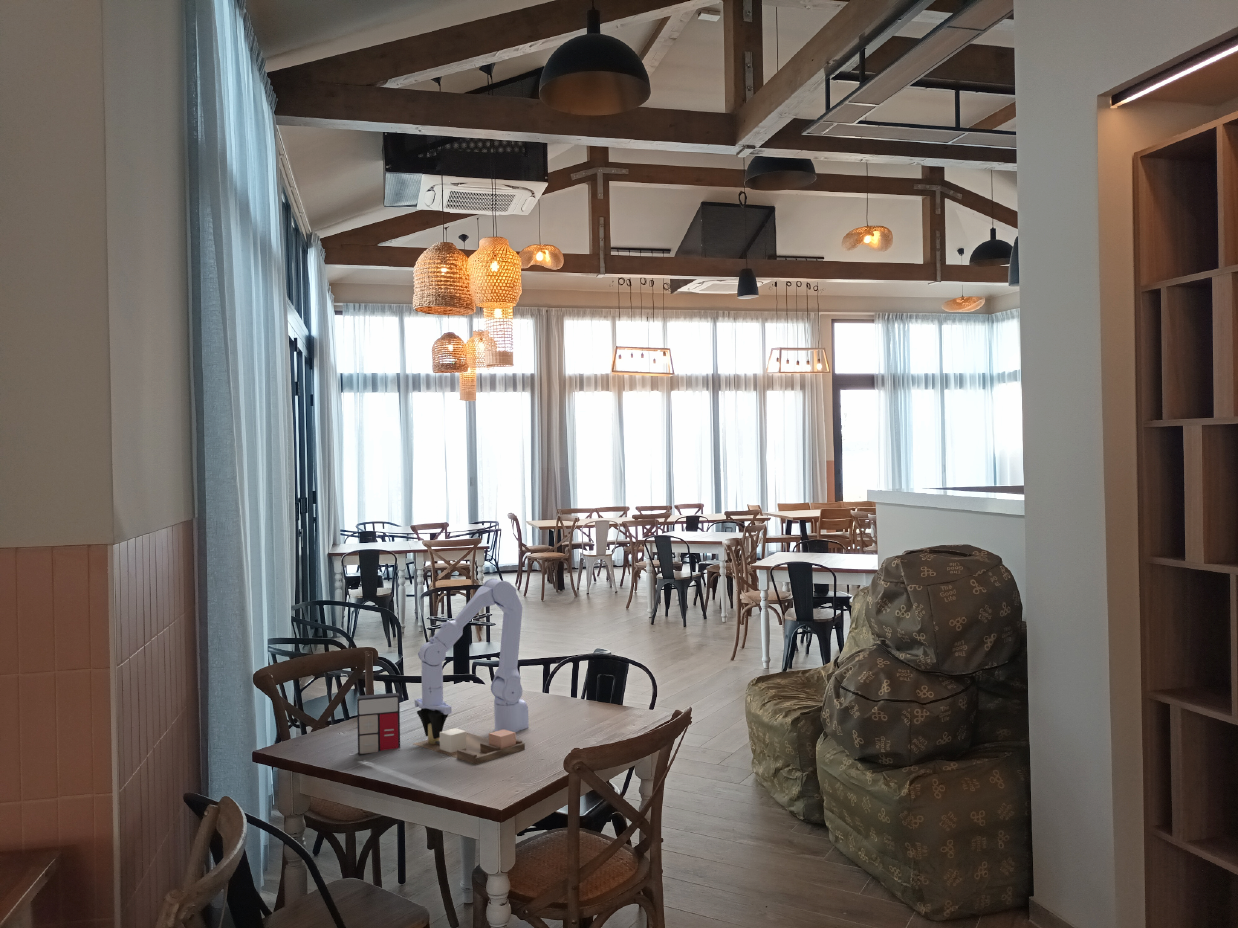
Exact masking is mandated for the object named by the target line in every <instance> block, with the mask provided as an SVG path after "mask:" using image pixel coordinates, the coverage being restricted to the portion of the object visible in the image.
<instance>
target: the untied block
mask: <svg viewBox="0 0 1238 928" xmlns="http://www.w3.org/2000/svg"><path fill="white" fill-rule="evenodd" d="M516 734H517V732H512V731H508V730H504V729H503V730H499V731H496V732H495V731H493V732H490V733H488V739H489V744H490V745H493V746H497V747H500V749H503V748H507V747H510V746H513V745H516V739H517V737H516V736H517V735H516Z"/></svg>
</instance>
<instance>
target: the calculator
mask: <svg viewBox="0 0 1238 928" xmlns="http://www.w3.org/2000/svg"><path fill="white" fill-rule="evenodd" d="M356 698H357V699H356V704H357V705H356V710H357V711H356V712H357V719H356V721H357V722H356V723H357V724H356V725H357V754H358V755H359V756H362V755H363V756H365V755H371V754H374V753H377V752H381V751H386V750H394V749H395V750H396V749H400V748H401V717H400V716H401V715H400V714H401V713H400V712H401V711H400V707H401V706H400V705H401V704H400V694H399V692H391V693H390V692H389V693H388V692H387V693H379V694H365V695H357V697H356Z"/></svg>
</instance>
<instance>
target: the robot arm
mask: <svg viewBox="0 0 1238 928" xmlns="http://www.w3.org/2000/svg"><path fill="white" fill-rule="evenodd" d="M495 605H496V606H497V607H498V608H499V609H500V611H502V612H503V616H502V627H501V639H500V648H499V649H500V652H499V659H498V661H499V662H498V668H497V669H496V671H495V672H494V677H493V680H492V682H491V684H490V691H491V693H492V695H493V697H494V699H493V706H494V707H493V709H494V710H493V712H494V714H493V715H494V732H496V731H499V730H503V729H504V730H508V731H512V732H516V733H517V732H520V731H522V730H525V729H529V728H530V727H529V724H530V723H529V707H528V704H527V702H526V701H525V700H524V699H523V698H522V696H523V691H524V690H523V687H522V683H521V676H520V672H519V670H518V665H519V653H520V639H521V629H522V618H523V617H522V616H523V604H522V602H521V600H520V599H519V595H518V593H517V588H516V587H515V586H514V585H513V584H511V583H510V581H507V580H500V579H497V578H489V579H487V580H485V581H484V583H483V584H482V585H481V586H480V587H478V589H477V590H476V591H475V593H474V595H473V596H472V597H471V599H469V600H468V602H467V603H466V605H464V607H463V608H462V609H461V610H460V612H459V613H458V615H456V616H455V618H454V619H453V620H452V619H451V620H447V621H446V622H442V623H441V624H440V625H439V626H440V628H439V630H437V632H436V633H435V634H434V635H432V636H430V637H429V638H428V642H425V643H423V644H422V645H421V647H420V648H419V651H418V653H417V656H418V659H419V660H420V661H421V698H420V697H419V698H416V699H414V707H415V708H419V709H420V710H417V711H416V714H417V715H418V717H419V719H420V722H421V724H422V727H423V731H424V735H425V736H426V737H428V724H429V723H431V725H432V734H433V738H434V739H436V738H440V732H442V731H444V730H443V729H444V726H445V722H446V720H447V718H448V716H449V715H451V714H452V713H453V712H452V705H450V704H447V702H445V701H444V674H443V673H444V671H443V662H444V661H445V660H446V656H447V655H446V654H447V652H448V651H449V650H450V649H451V648H452V647H453V646H454V645H455V644H456V643H457V642H458V641H459V640H460V638H461V637H462V636H463V632H464V631H463V630H464V627H465V626H466V625H467V624H468V623H469V622H470V621H471V620H472V619H473V618H474V617H475V616H476V615H477V614H478V613H479V612H480V611H481V610H482V609H483V608H486V607H490V606H495ZM521 698H522V699H521Z"/></svg>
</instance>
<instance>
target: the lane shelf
mask: <svg viewBox="0 0 1238 928" xmlns="http://www.w3.org/2000/svg"><path fill="white" fill-rule="evenodd" d="M439 741H440V738H439ZM413 745H415V746H418V747H420V748H424V749H428V750H429V751H430V750H431V751H433V752H437V753H440V754H443V755H447V756H449V757H451V758H456V759H459V760H462V761H465V762H468V763H471V764H474V765H480V764H482V763H486V762H488V761H492V760H495V759H499V758H501V757H504V756H508V755H511V754H514V753H517V752H520V751H524V750H526V749H525V743H524V742H523V740H520V739H517V738H516V745H513V746H510V747H507V748H503V749H500V747H497V746H493V745H490V744H489V737H488V738H487V737H483V736H481V735H476V734H473V733H470V732H467V731H466V749H462V750H461V749H460V750H457V751H455V752H452V753H450V752H447V751H444V750H441V749H440V745H439V744H429V743H428V739H427V740H422V741H418V742H415V743H413Z"/></svg>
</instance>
